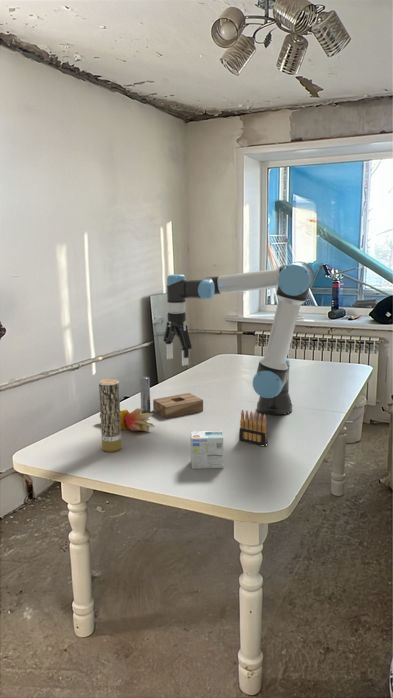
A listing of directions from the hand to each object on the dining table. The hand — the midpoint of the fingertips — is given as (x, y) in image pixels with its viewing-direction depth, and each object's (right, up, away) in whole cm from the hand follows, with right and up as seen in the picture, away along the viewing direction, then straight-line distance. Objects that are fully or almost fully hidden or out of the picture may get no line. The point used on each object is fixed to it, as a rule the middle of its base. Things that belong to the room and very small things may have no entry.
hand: (177, 361), depth 223 cm
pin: (-13, -22, 0) cm, 26 cm away
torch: (-20, -26, -15) cm, 36 cm away
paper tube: (-22, -30, -35) cm, 52 cm away
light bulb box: (+12, -33, -49) cm, 60 cm away
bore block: (0, -21, +5) cm, 22 cm away
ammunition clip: (+29, -29, -31) cm, 51 cm away
